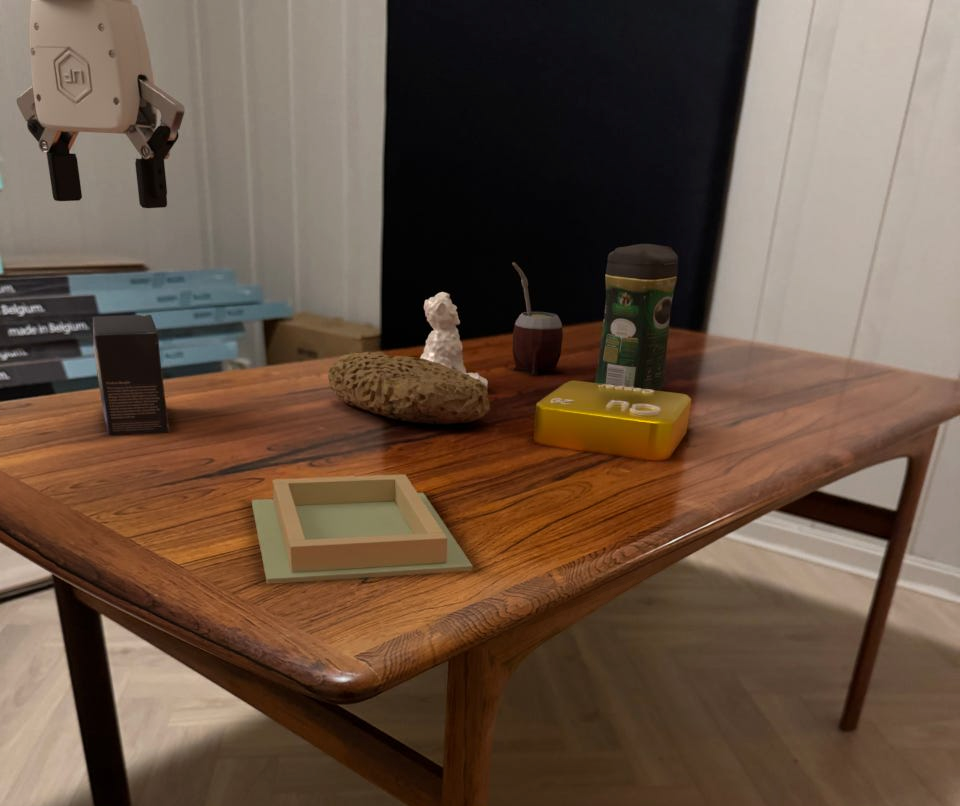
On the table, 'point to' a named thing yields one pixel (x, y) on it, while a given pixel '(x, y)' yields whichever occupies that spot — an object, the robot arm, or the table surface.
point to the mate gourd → (536, 338)
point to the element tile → (612, 420)
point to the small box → (130, 374)
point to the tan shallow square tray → (352, 530)
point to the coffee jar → (637, 316)
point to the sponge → (408, 388)
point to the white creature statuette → (445, 335)
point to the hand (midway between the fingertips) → (110, 203)
